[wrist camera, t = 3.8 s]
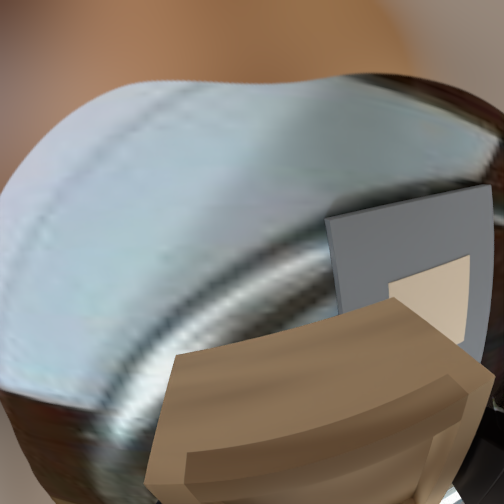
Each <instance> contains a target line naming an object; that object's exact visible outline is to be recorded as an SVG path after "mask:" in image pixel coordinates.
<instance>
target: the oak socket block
mask: <svg viewBox="0 0 504 504" xmlns="http://www.w3.org/2000/svg"><path fill="white" fill-rule="evenodd" d="M494 379H495V375H493V374H492V373H491V372H490V371H489V370H487V369H486V368H485V367H484V366H482V365H481V364H480V363H479V362H478V361H476V360H475V359H474V358H473V357H471V356H470V355H469V354H468V353H466V352H465V351H464V350H463V349H461V348H460V347H459V346H458V345H456V344H455V343H454V342H453V341H451V340H450V339H449V338H448V337H446V336H445V335H444V334H442V333H441V332H440V331H438V330H437V329H436V328H435V327H433V326H432V325H431V324H429V323H428V322H427V321H425V320H424V319H423V318H421V317H420V316H419V315H418V314H416V313H415V312H414V311H412V310H411V309H410V308H408V307H407V306H405V305H404V304H403V303H401V302H400V301H399V300H397V299H396V298H395V297H392V298H389V299H386V300H383V301H380V302H377V303H375V304H372V305H369V306H366V307H363V308H360V309H356V310H353V311H350V312H347V313H344V314H341V315H337V316H334V317H331V318H328V319H324V320H321V321H317V322H314V323H311V324H307V325H304V326H300V327H296V328H293V329H289V330H285V331H281V332H278V333H274V334H270V335H266V336H262V337H258V338H254V339H250V340H246V341H241V342H237V343H233V344H228V345H224V346H219V347H214V348H210V349H205V350H200V351H195V352H190V353H185V354H179V355H176V357H175V360H174V364H173V367H172V371H171V375H170V378H169V382H168V386H167V390H166V393H165V397H164V401H163V405H162V409H161V413H160V417H159V421H158V425H157V429H156V433H155V437H154V441H153V445H152V449H151V454H150V458H149V462H148V467H147V471H146V476H145V480H144V485H145V486H146V487H147V488H148V489H149V491H150V492H151V493H152V494H153V495H154V496H155V497H156V498H157V499H158V500H159V501H160V502H161V503H162V504H439V503H440V502H441V500H442V499H443V497H444V495H445V494H446V492H447V490H448V488H449V487H450V485H451V483H452V481H453V479H454V478H455V476H456V474H457V472H458V470H459V468H460V466H461V464H462V462H463V460H464V458H465V456H466V454H467V452H468V450H469V447H470V445H471V443H472V441H473V438H474V436H475V434H476V431H477V429H478V426H479V424H480V421H481V418H482V416H483V413H484V410H485V407H486V405H487V402H488V399H489V396H490V392H491V389H492V386H493V383H494Z"/></svg>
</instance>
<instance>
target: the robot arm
mask: <svg viewBox="0 0 504 504" xmlns="http://www.w3.org/2000/svg"><path fill="white" fill-rule="evenodd" d="M452 484H453V485H454V487H455V489H456V490H457V492H458V493H459V495H460V497H461V498H462V500H463V502H464V503H465V504H504V412H501V411H498V410H496V411H495V409H492V408H489V407H485V410H484V413H483V416H482V418H481V421H480V424H479V426H478V429H477V431H476V434H475V436H474V438H473V441H472V443H471V445H470V447H469V450H468V452H467V454H466V456H465V458H464V460H463V462H462V464H461V466H460V468H459V470H458V472H457V474H456V476H455V478H454V479H453V481H452ZM156 504H162V503H161V502H160V501H159V500H158V502H157V503H156Z"/></svg>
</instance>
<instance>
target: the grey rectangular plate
mask: <svg viewBox="0 0 504 504" xmlns="http://www.w3.org/2000/svg"><path fill="white" fill-rule="evenodd" d="M324 220H325V225H326V231H327V237H328V243H329V249H330V255H331V261H332V268H333V275H334V282H335V289H336V296H337V304H338V312H339V315H341V314H344V313H347V312H350V311H353V310H356V309H360V308H363V307H366V306H369V305H372V304H375V303H377V302H380V301H383V300H386V299H389V298H392V297H395V298H396V299H397V300H399V301H400V302H401V303H403V304H404V305H405V306H407V307H408V308H410V309H411V310H412V311H414V312H415V313H416V314H418V315H419V316H420V317H421V318H423V319H424V320H425V321H427V322H428V323H429V324H431V325H432V326H433V327H435V328H436V329H437V330H438V331H440V332H441V333H442V334H444V335H445V336H446V337H448V338H449V339H450V340H451V341H453V342H454V343H455V344H456V345H458V346H459V347H460V348H461V349H463V350H464V351H465V352H466V353H468V354H469V355H470V356H471V357H473V358H474V359H475V360H476V361H478V362H479V363H481V359H482V354H483V349H484V344H485V339H486V333H487V326H488V320H489V312H490V304H491V294H492V282H493V265H494V219H493V202H492V190H491V185H484V184H483V185H478V186H473V187H468V188H463V189H458V190H453V191H448V192H443V193H439V194H434V195H429V196H424V197H419V198H415V199H410V200H405V201H401V202H396V203H391V204H387V205H382V206H378V207H373V208H369V209H364V210H360V211H355V212H351V213H346V214H342V215H337V216H333V217H328V218H324Z"/></svg>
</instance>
